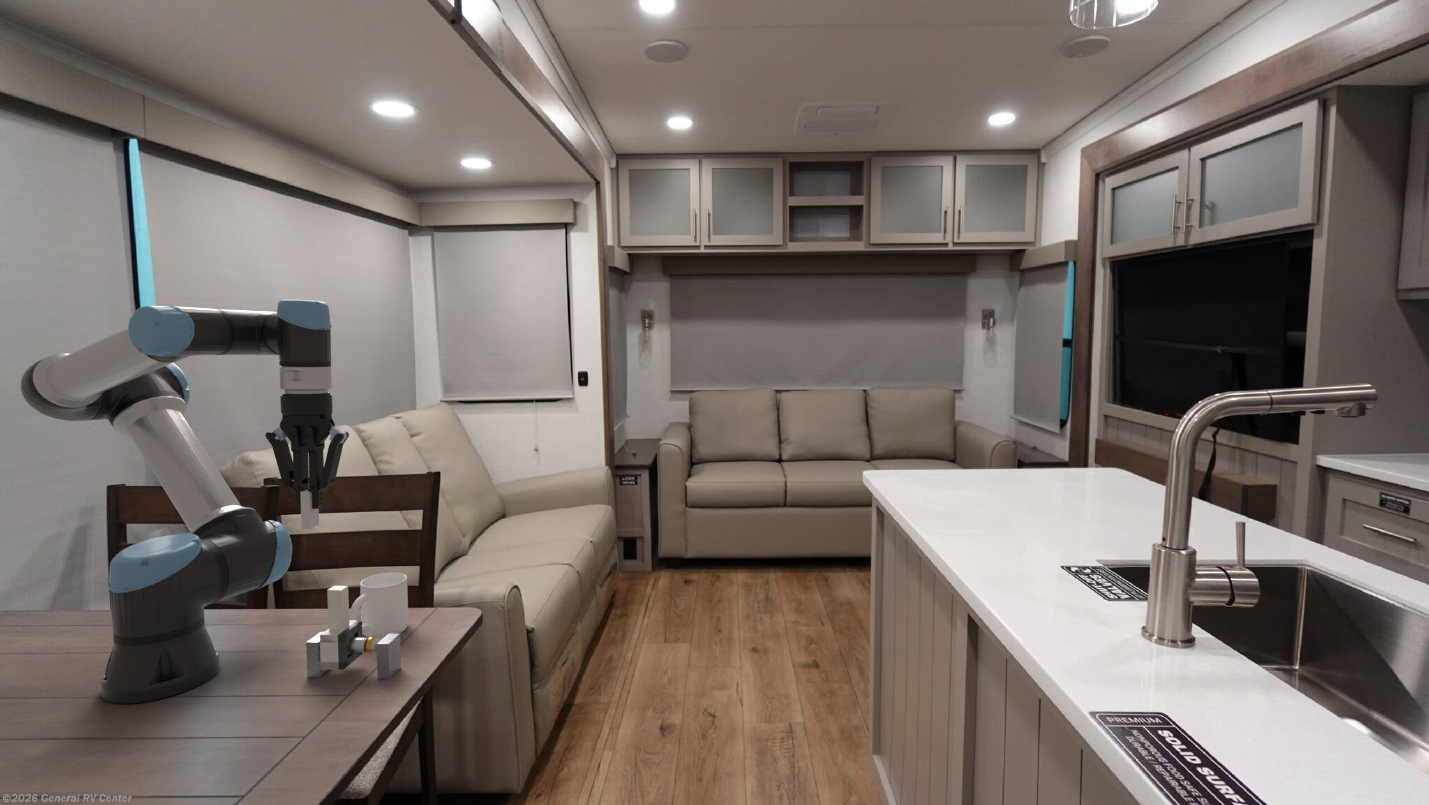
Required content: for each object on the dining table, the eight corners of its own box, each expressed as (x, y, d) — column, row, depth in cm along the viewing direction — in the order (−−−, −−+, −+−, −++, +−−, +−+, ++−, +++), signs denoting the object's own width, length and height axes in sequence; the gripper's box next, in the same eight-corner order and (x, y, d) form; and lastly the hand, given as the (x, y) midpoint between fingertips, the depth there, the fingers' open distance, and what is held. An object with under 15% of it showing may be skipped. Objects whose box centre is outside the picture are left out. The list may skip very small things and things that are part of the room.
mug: (367, 651, 121) (365, 597, 121) (334, 643, 124) (332, 590, 124) (417, 625, 133) (416, 576, 132) (386, 618, 136) (385, 570, 135)
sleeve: (320, 669, 110) (318, 594, 109) (341, 652, 116) (339, 581, 115) (343, 670, 110) (340, 594, 109) (362, 653, 116) (360, 581, 115)
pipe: (307, 677, 112) (306, 641, 111) (321, 666, 115) (320, 631, 115) (389, 679, 111) (388, 643, 111) (400, 667, 115) (399, 633, 115)
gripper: (252, 392, 108) (257, 532, 110) (334, 394, 108) (337, 533, 111) (280, 388, 115) (284, 520, 117) (356, 390, 116) (359, 521, 118)
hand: (310, 526), depth 114 cm, fingers closed
